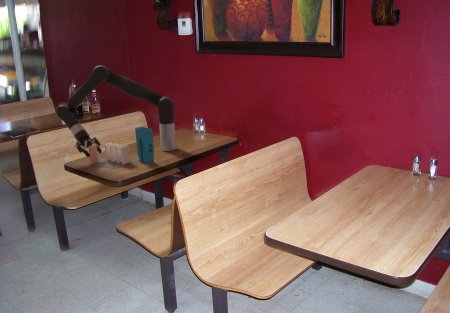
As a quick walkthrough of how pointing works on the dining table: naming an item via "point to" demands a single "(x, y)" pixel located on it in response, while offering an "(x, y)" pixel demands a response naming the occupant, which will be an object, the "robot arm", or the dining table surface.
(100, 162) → the mat
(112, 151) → the domino
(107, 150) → the domino
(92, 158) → the terracotta tile
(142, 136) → the block
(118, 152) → the domino
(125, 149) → the domino
